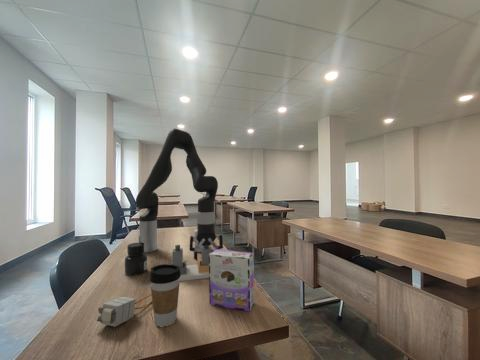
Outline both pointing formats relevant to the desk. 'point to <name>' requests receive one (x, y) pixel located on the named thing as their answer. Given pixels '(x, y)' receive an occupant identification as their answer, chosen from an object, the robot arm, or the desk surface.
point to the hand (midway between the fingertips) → (206, 259)
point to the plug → (205, 255)
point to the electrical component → (118, 310)
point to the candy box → (231, 279)
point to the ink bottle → (135, 259)
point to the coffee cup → (165, 293)
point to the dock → (188, 267)
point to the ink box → (197, 241)
